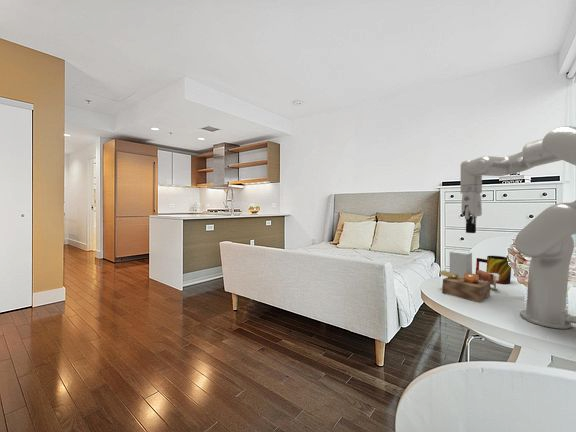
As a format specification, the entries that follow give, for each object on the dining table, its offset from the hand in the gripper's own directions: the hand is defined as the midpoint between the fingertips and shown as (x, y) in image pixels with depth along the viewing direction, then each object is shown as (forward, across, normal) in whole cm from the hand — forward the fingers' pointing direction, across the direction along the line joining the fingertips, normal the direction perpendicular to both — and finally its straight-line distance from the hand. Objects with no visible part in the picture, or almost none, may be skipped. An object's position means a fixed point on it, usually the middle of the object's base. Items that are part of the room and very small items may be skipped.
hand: (470, 232), depth 116 cm
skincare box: (+26, +18, +10) cm, 33 cm away
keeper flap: (+20, -1, +8) cm, 21 cm away
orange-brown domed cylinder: (+26, -1, 0) cm, 26 cm away
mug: (+26, +33, 0) cm, 42 cm away
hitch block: (+27, -1, +2) cm, 27 cm away
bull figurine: (+27, +17, -2) cm, 32 cm away
